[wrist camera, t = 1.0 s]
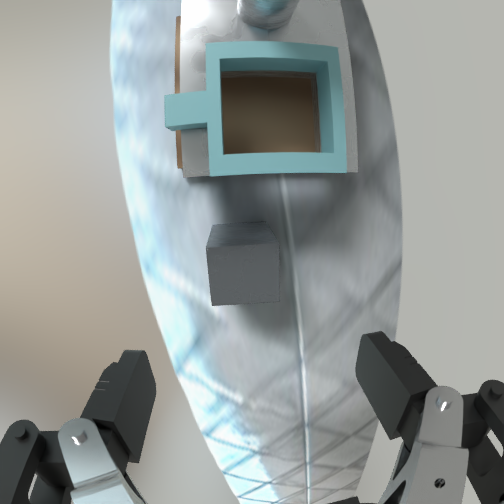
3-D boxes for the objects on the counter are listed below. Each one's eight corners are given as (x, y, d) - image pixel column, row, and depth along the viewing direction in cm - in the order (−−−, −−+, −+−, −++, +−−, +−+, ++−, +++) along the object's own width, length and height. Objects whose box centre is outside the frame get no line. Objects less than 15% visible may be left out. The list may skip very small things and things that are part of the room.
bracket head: (172, 61, 15) (164, 48, 13) (325, 59, 16) (337, 47, 14) (175, 178, 18) (166, 180, 15) (332, 171, 18) (346, 173, 16)
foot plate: (179, 23, 18) (176, 16, 17) (332, 25, 19) (337, 18, 18) (181, 168, 22) (177, 168, 21) (344, 163, 23) (351, 163, 22)
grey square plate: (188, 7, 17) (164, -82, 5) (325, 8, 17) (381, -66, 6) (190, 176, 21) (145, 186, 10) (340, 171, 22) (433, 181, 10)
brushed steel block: (212, 224, 24) (206, 247, 17) (265, 221, 24) (279, 243, 18) (216, 269, 25) (211, 305, 18) (266, 265, 25) (279, 301, 19)
